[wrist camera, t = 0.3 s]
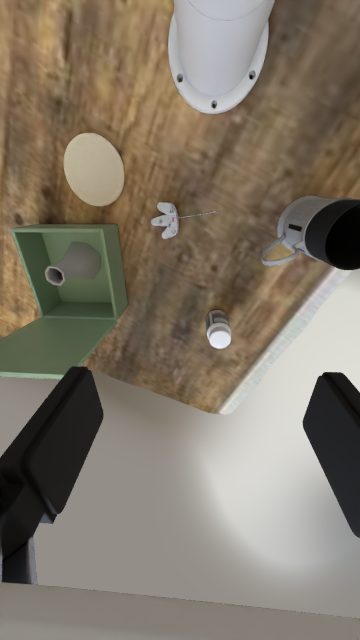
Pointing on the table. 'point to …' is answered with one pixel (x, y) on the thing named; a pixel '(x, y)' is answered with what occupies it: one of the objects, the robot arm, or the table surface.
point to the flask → (75, 264)
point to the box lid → (51, 346)
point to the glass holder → (320, 231)
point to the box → (75, 294)
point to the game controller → (169, 219)
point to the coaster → (94, 169)
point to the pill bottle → (218, 329)
